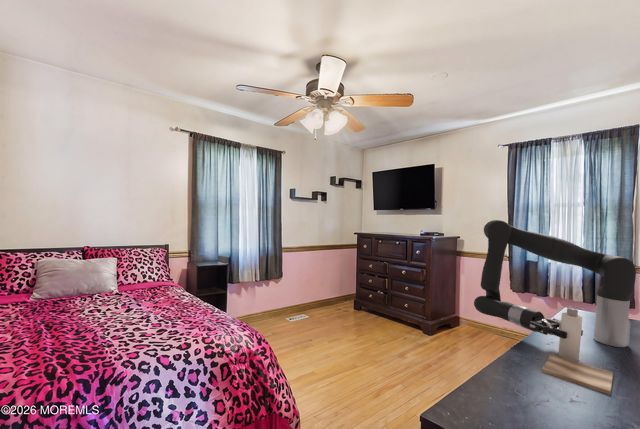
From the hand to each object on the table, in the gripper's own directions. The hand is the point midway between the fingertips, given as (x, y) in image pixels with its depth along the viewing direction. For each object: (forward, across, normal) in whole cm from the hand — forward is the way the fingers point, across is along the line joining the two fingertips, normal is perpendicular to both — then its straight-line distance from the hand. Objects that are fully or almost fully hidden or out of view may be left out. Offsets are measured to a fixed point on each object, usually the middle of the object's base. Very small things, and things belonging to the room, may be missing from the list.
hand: (574, 334), depth 104 cm
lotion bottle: (-1, 0, +8) cm, 8 cm away
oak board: (+7, -10, +8) cm, 15 cm away
